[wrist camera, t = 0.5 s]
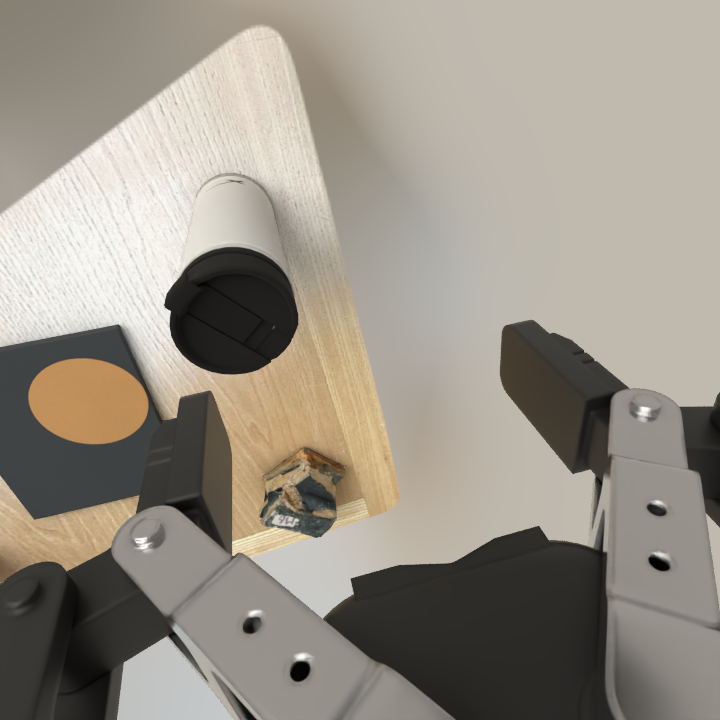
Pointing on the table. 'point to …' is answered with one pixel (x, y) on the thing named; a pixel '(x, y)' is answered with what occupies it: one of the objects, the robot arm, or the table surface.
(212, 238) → the travel mug
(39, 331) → the table surface
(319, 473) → the rock
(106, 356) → the mat
